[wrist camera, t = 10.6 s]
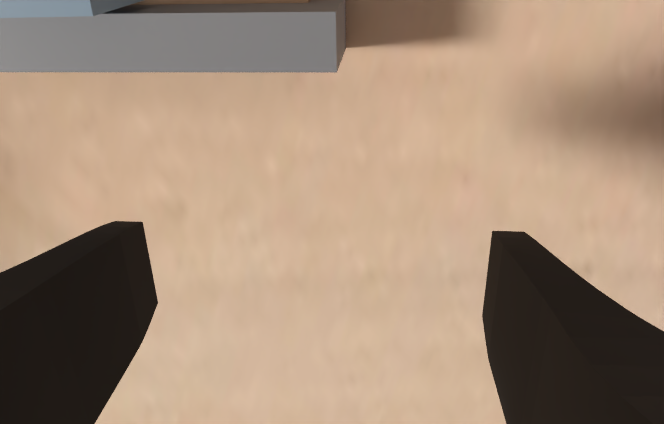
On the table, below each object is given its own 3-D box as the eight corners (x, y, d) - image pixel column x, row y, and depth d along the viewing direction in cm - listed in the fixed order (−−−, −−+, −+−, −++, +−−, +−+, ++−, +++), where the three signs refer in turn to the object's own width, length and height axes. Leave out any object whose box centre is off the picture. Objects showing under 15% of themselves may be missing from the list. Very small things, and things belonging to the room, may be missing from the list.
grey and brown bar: (344, -38, 18) (335, -30, 15) (345, 47, 19) (336, 72, 16) (-236, -28, 20) (-353, -19, 17) (-203, 49, 21) (-307, 71, 18)
